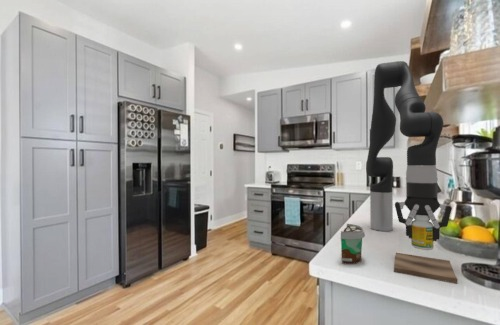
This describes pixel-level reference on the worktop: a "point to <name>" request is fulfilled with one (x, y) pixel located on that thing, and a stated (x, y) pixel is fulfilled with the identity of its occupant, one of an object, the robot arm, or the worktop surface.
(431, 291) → the worktop surface
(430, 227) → the supplement bottle
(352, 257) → the food container
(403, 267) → the walnut cutting board
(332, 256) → the worktop surface
